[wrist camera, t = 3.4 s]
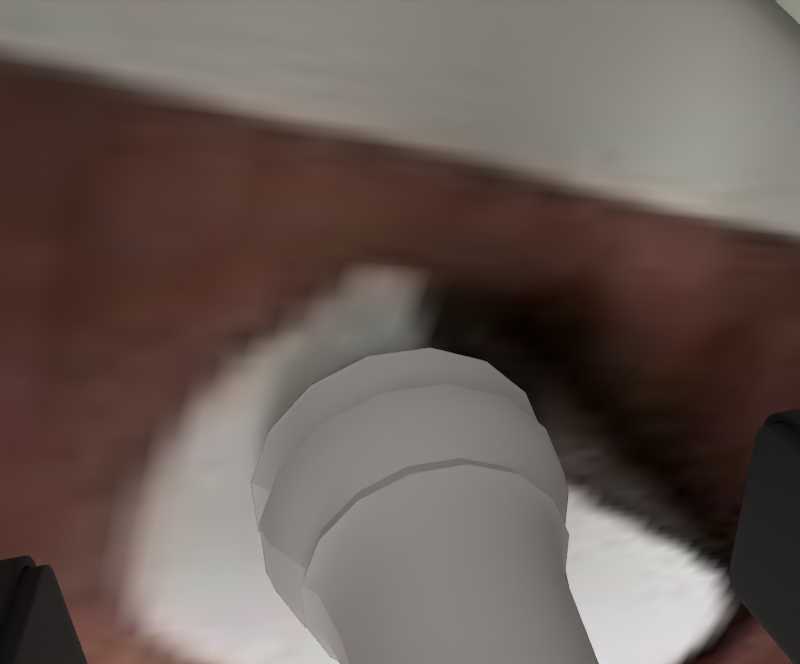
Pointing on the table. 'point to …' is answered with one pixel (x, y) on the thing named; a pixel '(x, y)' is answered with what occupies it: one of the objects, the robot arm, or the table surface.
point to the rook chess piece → (420, 517)
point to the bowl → (791, 8)
